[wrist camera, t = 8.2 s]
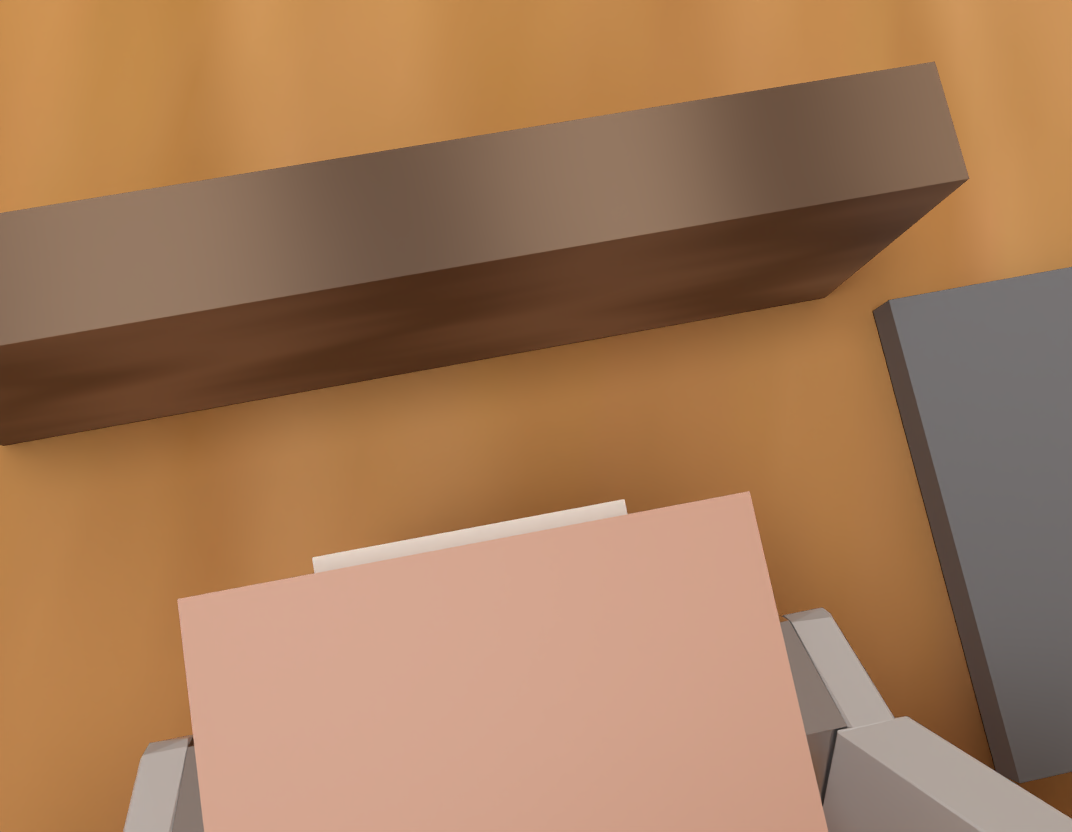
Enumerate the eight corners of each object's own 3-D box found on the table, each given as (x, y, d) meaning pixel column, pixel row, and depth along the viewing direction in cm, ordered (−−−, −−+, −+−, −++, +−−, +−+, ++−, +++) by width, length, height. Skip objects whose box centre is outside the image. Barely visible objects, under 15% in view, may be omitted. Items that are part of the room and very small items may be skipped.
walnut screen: (3, 445, 18) (-247, 388, 12) (-5, 354, 18) (-253, 254, 12) (825, 297, 19) (968, 178, 13) (803, 214, 19) (934, 61, 13)
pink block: (384, 884, 14) (254, 1279, 6) (338, 573, 15) (174, 575, 7) (674, 820, 15) (893, 1111, 7) (613, 521, 15) (744, 469, 8)
